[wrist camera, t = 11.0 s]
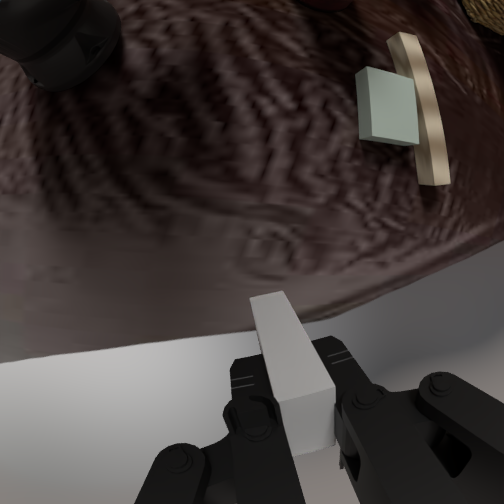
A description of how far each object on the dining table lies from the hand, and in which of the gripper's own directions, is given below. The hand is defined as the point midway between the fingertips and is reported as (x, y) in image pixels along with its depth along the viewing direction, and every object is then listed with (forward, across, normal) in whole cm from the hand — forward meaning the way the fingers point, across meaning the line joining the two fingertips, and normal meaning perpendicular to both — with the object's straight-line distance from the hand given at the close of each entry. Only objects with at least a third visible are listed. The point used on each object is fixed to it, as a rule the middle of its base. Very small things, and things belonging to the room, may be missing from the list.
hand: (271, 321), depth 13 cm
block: (+25, +23, +14) cm, 37 cm away
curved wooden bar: (+24, +30, +14) cm, 41 cm away
